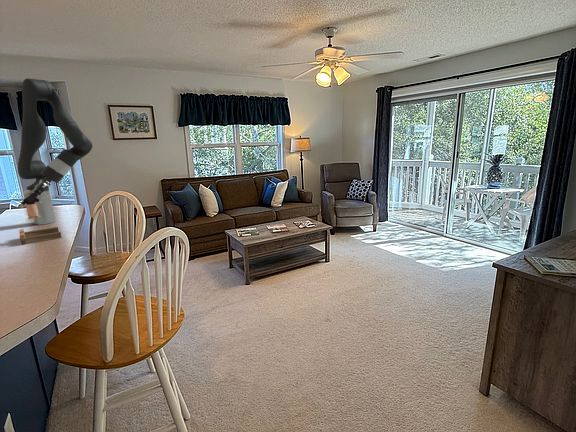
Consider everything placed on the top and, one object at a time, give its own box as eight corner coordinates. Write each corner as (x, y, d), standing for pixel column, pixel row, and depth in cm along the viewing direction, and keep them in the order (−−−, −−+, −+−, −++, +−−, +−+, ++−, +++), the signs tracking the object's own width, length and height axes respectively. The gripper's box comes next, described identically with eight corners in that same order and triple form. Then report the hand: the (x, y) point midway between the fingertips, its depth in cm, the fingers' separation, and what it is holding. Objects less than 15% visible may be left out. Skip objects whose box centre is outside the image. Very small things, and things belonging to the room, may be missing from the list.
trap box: (21, 238, 141) (19, 229, 140) (58, 231, 150) (56, 223, 149) (21, 244, 132) (19, 236, 131) (61, 237, 141) (59, 229, 140)
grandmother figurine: (28, 220, 134) (20, 191, 131) (22, 219, 136) (14, 191, 132) (47, 215, 141) (39, 188, 138) (41, 214, 143) (34, 187, 139)
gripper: (46, 164, 143) (19, 193, 139) (49, 165, 133) (19, 197, 128) (63, 174, 148) (36, 203, 143) (66, 176, 138) (38, 207, 133)
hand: (28, 200), depth 136 cm, fingers closed on grandmother figurine, 3 cm apart
